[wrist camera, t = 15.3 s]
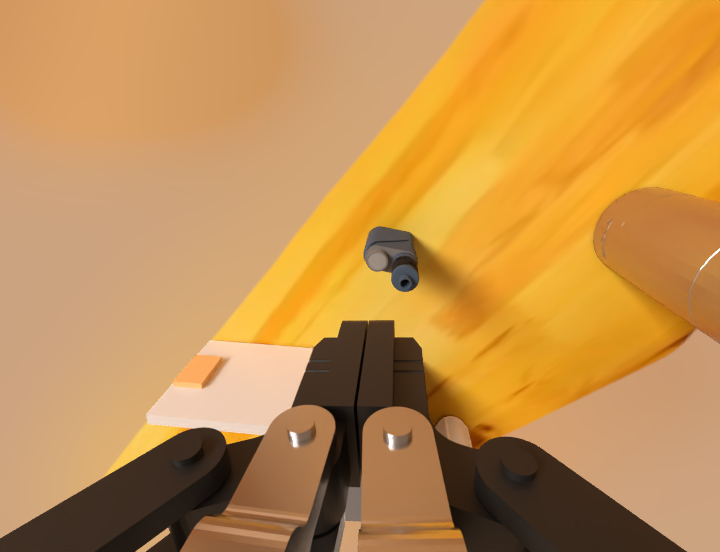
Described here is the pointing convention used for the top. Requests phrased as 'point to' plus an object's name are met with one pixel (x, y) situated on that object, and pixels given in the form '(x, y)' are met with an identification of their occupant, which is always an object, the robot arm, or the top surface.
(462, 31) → the top surface
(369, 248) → the vaping device
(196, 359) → the side door
